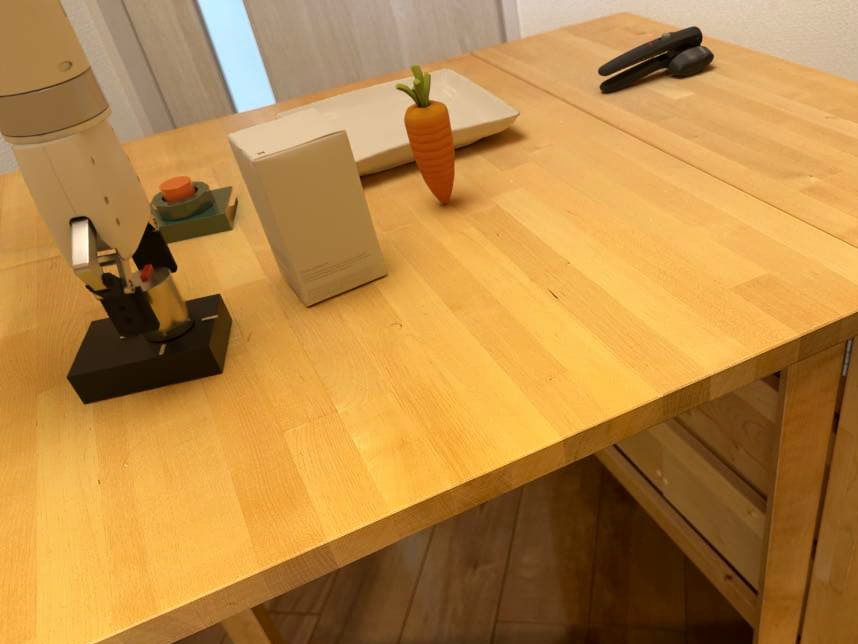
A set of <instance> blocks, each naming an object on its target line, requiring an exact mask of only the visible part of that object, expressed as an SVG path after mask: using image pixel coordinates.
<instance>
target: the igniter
mask: <svg viewBox="0 0 858 644" xmlns="http://www.w3.org/2000/svg"><path fill="white" fill-rule="evenodd" d="M192 183H193V185H194V187H195V190H196V193H195V194H194V195H192V196H191V197H188V198H186V199H184V200H180V201H175V202H166V201H165V199H164V197H163V195H162V193H161V191H159V192H158V193H156V194H154V195H153V196H152V198H151V201H150V202H149V204H150V210H151V212H150V213H151V214H152V215H153V216H154V217H155V218H156V220H157V222H158V226H159V229H158V230H154V232H156V231H161V233H162V235H163V237H164V239H165V241H166V243H167V245H168V244H172V243H176V242H177V243H178V242H182V241H186V240H191V239H196V238H201V237H205V236H206V237H207V236H210V235H215V234H220V233H225V232H229V231H232V230H233V227H234V224H235V218H236V214H237V209H238V205H239V201H238V198H237V197H235V199H234V203H233V204H234V205H229V204H230V199H231V195H232V192H233V186H232V185H229V186H225V187H220V188H215V189H211V188H210V185H209V184H207V182H206V183H205V182H204V181H192Z"/></svg>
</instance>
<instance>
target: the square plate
mask: <svg viewBox="0 0 858 644" xmlns="http://www.w3.org/2000/svg"><path fill="white" fill-rule="evenodd" d="M428 73H429V74H430V75H431V83H430V92H429V100H433V101H438V102H442V103H443V104H445V105H446V107H447V109H448V113H449V118H450V124H451V130H452V137H453V143H454V150H456V149H460V148H464V147H467V146H469V145H472V144H474V143H476V142H478V141H480V140H482V138H486V137H490V136H492V135H495V134H499V133H501V132H503V131H505V130H507V129H508V128H510V127H511V126H512V125H513V123H515V122H516V120H517V119H518V117H519V116H520V115H521V111H520V110H519V109H517V108H516V107H514V106H513V105H511V104H510V103H508V102H506V101H505V100H503V99H501V98H500V97H498V96H497V95H495V94H494V93H492V92H491V91H489V90H487V89H486V88H484V87H482V86H481V85H479V84H477V82H475V81H472V79H469V78H468V77H466V76H465V75H463V74H461V73H459V72H457V71H455V69H452V68H442V69H438V70H435V71H430V72H428ZM423 76H424V73H423ZM414 80H415V77H414V75H413V76H409V77H405V78H400V79H395V80H391V81H387V82H383V83H378V84H375V85H370V86H367V87H362V88H358V89H355V90H352V91H347V92H344V93H341V94H337V95H334V96H331V97H328V98H325V99H321V100H318V101H314V102H311V103H308V104H305V105H302V106H298V107H295V108H291V109H288V110H285V111H284V110H283V111H282V112H278V113H277V114H276V115H275V119H279V118H283V117H286V116H288V115H291V114H294V113H297V112H300V111H304V110H308V109H311V108H314V109H315V110H317V111H318V112H320V113H321V114H323V115H324V116H325V117H327V118H328V119H330V120H331V121H333V122H334V123H336V124H337V125H339V126H340V127H341V128H343V129H345V130H346V132H347V136H348V139H349V142H350V146H351V149H352V153H353V156H354V160H355V163H356V167H357V170H358V174H359V177H361V176H368V175H373V174H377V173H380V172H384V171H387V170H390V169H394V168H397V167H400V166H403V165H407V164H410V163H413V162H416V161H415V159H414V155H413V152H412V149H411V145H410V142H409V138H408V135H407V131H406V127H405V123H404V116H405V113H406V110H407V108H408V107H409V106H411V105H413V104H415V102H414V100H413V99H412V98H411V97H410V96H409V95H408V94H406V93H405V92H403V91H400V90H397V89H396V85H397V84H398V83H400V84H404V85H406V86H408V87H409V88H410V89H411V90H412V88H413V86H414V84H413V81H414Z"/></svg>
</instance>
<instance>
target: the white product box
mask: <svg viewBox="0 0 858 644" xmlns="http://www.w3.org/2000/svg"><path fill="white" fill-rule="evenodd" d="M227 140H228V143H229V145H230V148H231V151H232V154H233V157H234V159H235V162H236V164H237V166H238V169H239V171H240V174H241V177H242V179H243V181H244V184H245V186H246V189H247V191H248V193H249V196H250V199H251V202H252V204H253V206H254V210H255V212H256V215H257V217H258V219H259V222H260V224H261V227H262V229H263V232H264V234H265V237H266V239H267V242H268V244H269V247H270V250H271V252H272V255H273V257H274V260H275V262H276V265H277V267H278V270H279V272H280V274H281V276H282V277H283V279H284V280H285V281H286V283H288V285H289V286H290V287H291V289H293V291H294V292H295V294H296V295H297V296H298V297H299V299H300V301H302V303H303V304H304V305H305V306H306V307H310V306H312V305H314V304H315V305H316V304H317V303H320V302H322V301H325V300H327V299H330V298H332V297H335V296H338V295H340V294H342V293H345V292H347V291H349V290H352V289H354V288H357V287H360V286H362V285H364V284H367V283H369V282H371V281H374V280H376V279H377V280H378V279H379V278H382V277H384V276H387V275H388V271H387V267H386V263H385V261H384V257H383V253H382V249H381V247H380V244H379V240H378V236H377V233H376V229H375V226H374V222H373V219H372V216H371V213H370V209H369V205H368V202H367V199H366V195H365V192H364V188H363V185H362V181H361V178H360V177H361V176H359V174H358V170H357V167H356V163H355V160H354V156H353V153H352V149H351V146H350V142H349V139H348V136H347V132H346V130H345V129H343V128H341V127H340V126H339V125H337V124H336V123H334V122H333V121H331V120H330V119H328V118H327V117H325V116H324V115H323V114H321V113H320V112H318V111H317V110H315V109H314V108H311V109H308V110H304V111H300V112H297V113H294V114H291V115H288V116H286V117H283V118H279V119H277V118H275V119H273V120H270V121H267V122H264V123H260V124H257V125H253V126H250V127H247V128H246V127H245V128H242V129H240V130H237V131H234V132H230V133H229V134H227Z"/></svg>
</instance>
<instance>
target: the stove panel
mask: <svg viewBox="0 0 858 644" xmlns="http://www.w3.org/2000/svg"><path fill="white" fill-rule="evenodd" d="M185 301H186V303H187V305H188V307H189V309H190V311H191V313H192V315H193V317H194V323H193V325H192V327H191V328H190V329H189V330H188V331H186V332H185V333H183V334H182V335H180V336H178V337H176V338H173V339H170V340H166V341H161V342H153V341H149V340H147V339H146V338H145V337H144V335H143V334H139V335H134V336H130V337H122V336H120V335H119V333H118V332H117V330H116V328H115V326H114V325H113V323H112V321H111V319H110V318H109V316H108V317H105V318H99V319H96V320H91V321H90V324H89V326H88V327H87V330H86V333H85V335H84V336H83V339H82V341H81V343H80V346H79V348H78V350H77V352H76V355H75V357H74V359H73V361H72V363H71V365H70V368H69V371H68V373H67V375H66V380H67V381H68V383H69V384H70V386H71V387H72V389H73V390H74V391H75V393H76V395H77V396H78V398H79V399H80V400H81V402H82V403H83V405H86V404H90V403H95V402H100V401H105V400H108V399H112V398H118V397H121V396H126V395H131V394H136V393H140V392H143V391H149V390H152V389H157V388H163V387H166V386H171V385H175V384H176V385H177V384H180V383H185V382H189V381H193V380H197V379H201V378H202V379H203V378H207V377H211V376H216V375H220V374H223V371H224V365H225V361H226V360H225V359H226V356H227V355H226V354H227V349H228V343H229V338H230V332H231V327H232V321H233V318H232V316H231V314H230V311H229V310H228V307H227V305H226V302H225V301H224V298H223V297H222V294H221V293H215V294H212V295H211V294H210V295H206V296H202V297H197V298H193V299H188V300H185Z"/></svg>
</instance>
